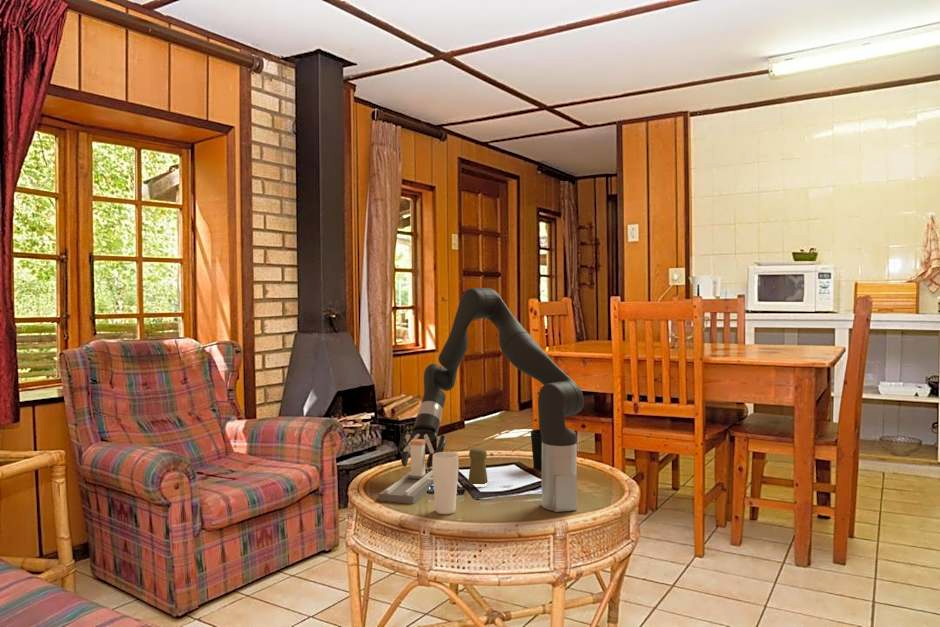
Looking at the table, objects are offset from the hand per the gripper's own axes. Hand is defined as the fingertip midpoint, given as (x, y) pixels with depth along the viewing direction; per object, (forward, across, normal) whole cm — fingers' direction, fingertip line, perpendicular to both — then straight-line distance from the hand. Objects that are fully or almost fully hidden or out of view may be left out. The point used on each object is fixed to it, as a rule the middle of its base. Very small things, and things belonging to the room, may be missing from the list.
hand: (416, 466), depth 208 cm
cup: (-17, +33, +25) cm, 45 cm away
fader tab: (+1, 0, +4) cm, 4 cm away
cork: (0, +17, +8) cm, 19 cm away
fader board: (+7, 0, +1) cm, 7 cm away
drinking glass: (+19, +15, -10) cm, 26 cm away
